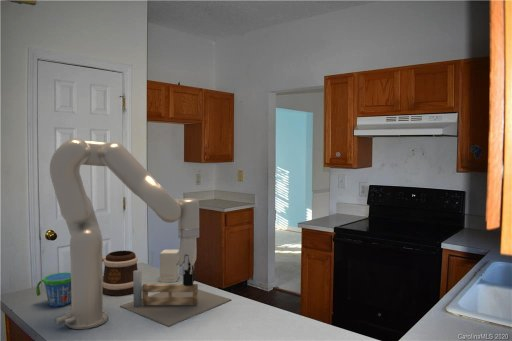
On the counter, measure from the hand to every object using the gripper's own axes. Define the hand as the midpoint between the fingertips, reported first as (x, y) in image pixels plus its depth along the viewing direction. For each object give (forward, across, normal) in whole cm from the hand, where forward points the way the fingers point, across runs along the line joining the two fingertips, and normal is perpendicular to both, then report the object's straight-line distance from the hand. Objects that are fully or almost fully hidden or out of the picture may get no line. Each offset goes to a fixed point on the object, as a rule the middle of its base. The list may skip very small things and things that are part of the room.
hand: (189, 282), depth 145 cm
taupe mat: (+9, -3, -5) cm, 11 cm away
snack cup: (+9, -3, -48) cm, 49 cm away
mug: (+9, -19, -33) cm, 39 cm away
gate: (+8, 0, -7) cm, 10 cm away
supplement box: (+9, -32, -14) cm, 36 cm away
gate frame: (+9, -9, -11) cm, 17 cm away
